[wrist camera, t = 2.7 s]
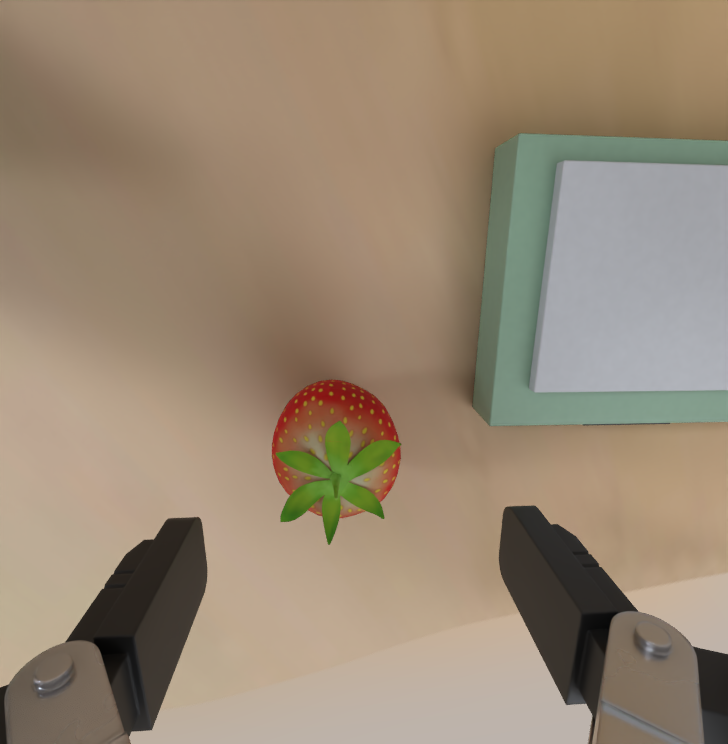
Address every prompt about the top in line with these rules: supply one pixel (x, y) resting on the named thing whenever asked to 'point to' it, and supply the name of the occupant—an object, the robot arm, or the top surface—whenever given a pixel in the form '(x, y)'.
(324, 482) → the fruit
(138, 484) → the top surface
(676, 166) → the scale
